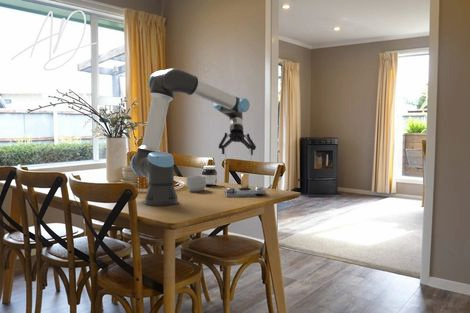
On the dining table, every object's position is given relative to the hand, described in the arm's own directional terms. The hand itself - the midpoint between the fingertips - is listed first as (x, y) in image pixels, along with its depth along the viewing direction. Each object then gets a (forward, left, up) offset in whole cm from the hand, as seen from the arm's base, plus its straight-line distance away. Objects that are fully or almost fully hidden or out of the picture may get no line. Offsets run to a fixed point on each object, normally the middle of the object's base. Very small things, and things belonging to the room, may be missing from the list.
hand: (237, 159), depth 219 cm
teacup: (-22, +9, -18) cm, 29 cm away
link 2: (+5, -8, -18) cm, 20 cm away
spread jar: (-15, +25, -18) cm, 34 cm away
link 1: (0, -8, -18) cm, 20 cm away
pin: (+2, -8, -18) cm, 20 cm away
